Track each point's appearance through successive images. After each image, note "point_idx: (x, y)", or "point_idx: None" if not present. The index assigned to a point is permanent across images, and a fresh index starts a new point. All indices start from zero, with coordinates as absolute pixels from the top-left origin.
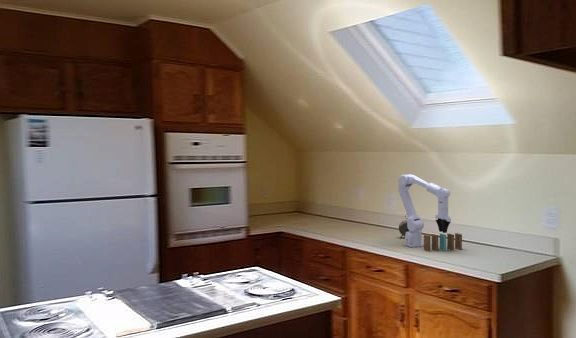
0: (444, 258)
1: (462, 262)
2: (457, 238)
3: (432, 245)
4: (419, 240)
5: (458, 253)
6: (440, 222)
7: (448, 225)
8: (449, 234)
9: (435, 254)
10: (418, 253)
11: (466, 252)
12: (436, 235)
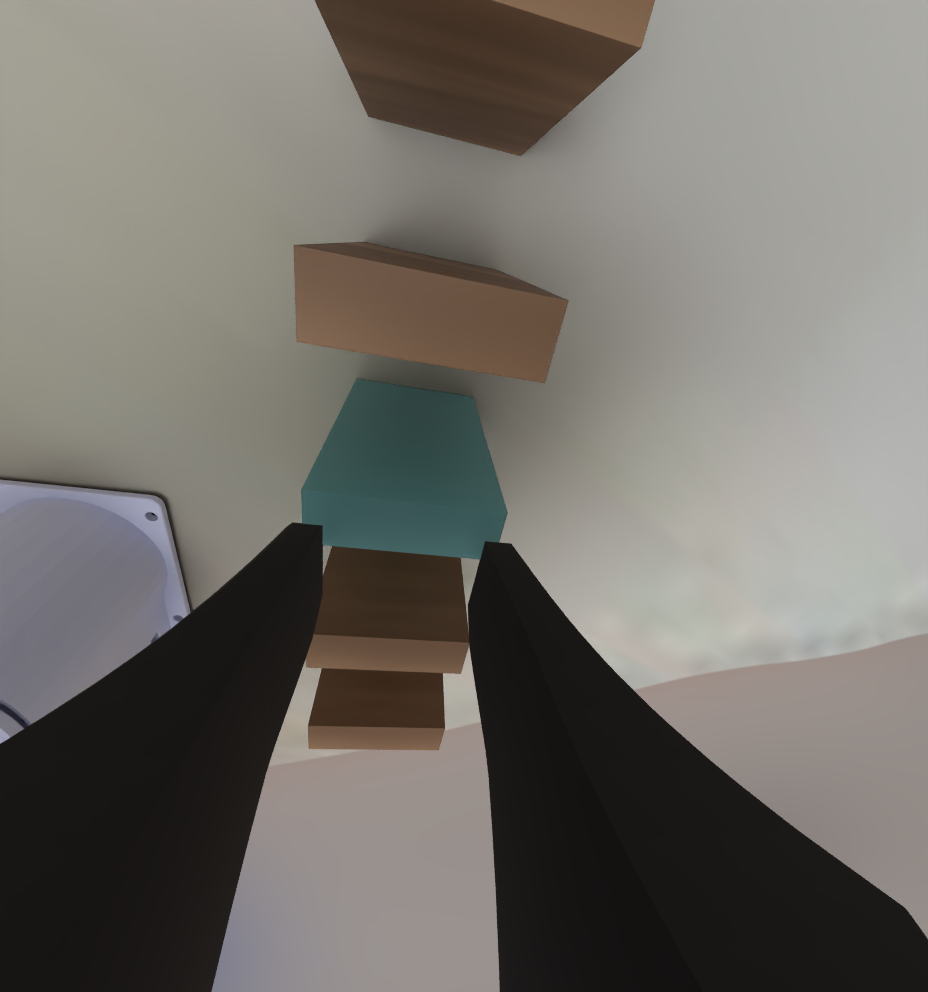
0: (711, 603)
1: (891, 567)
2: (476, 69)
3: None
4: (119, 599)
5: (675, 365)
6: (195, 926)
7: (665, 731)
8: (429, 363)
9: (564, 590)
10: (466, 668)
11: (714, 198)
12: (442, 658)
